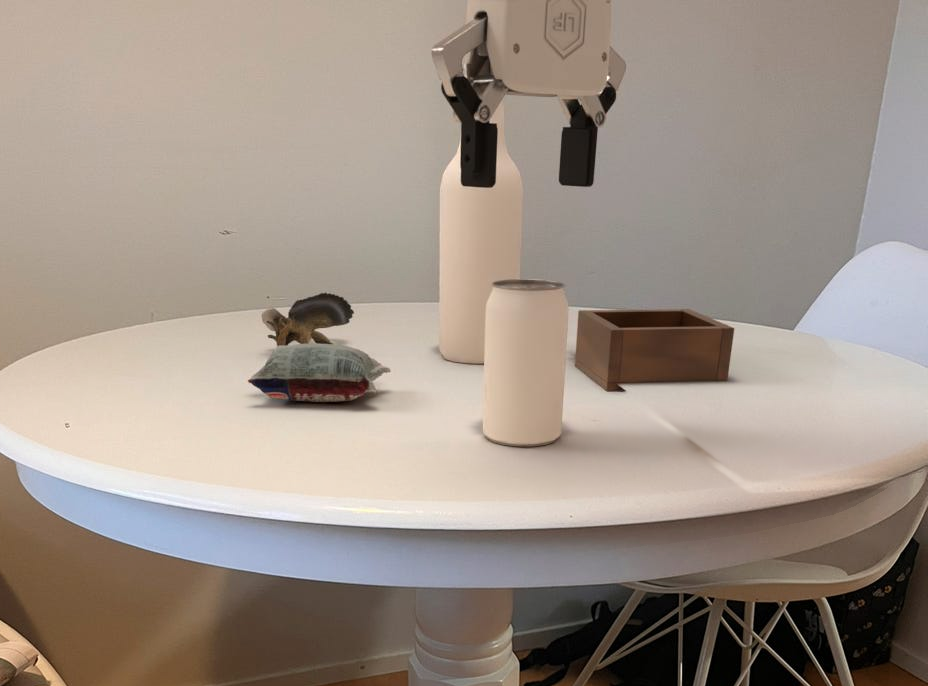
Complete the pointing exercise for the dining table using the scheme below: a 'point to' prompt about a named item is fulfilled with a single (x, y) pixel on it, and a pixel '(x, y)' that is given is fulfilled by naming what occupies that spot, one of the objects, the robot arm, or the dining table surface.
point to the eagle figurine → (308, 319)
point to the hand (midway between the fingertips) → (528, 186)
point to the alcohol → (476, 249)
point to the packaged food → (317, 373)
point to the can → (525, 362)
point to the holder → (651, 347)
